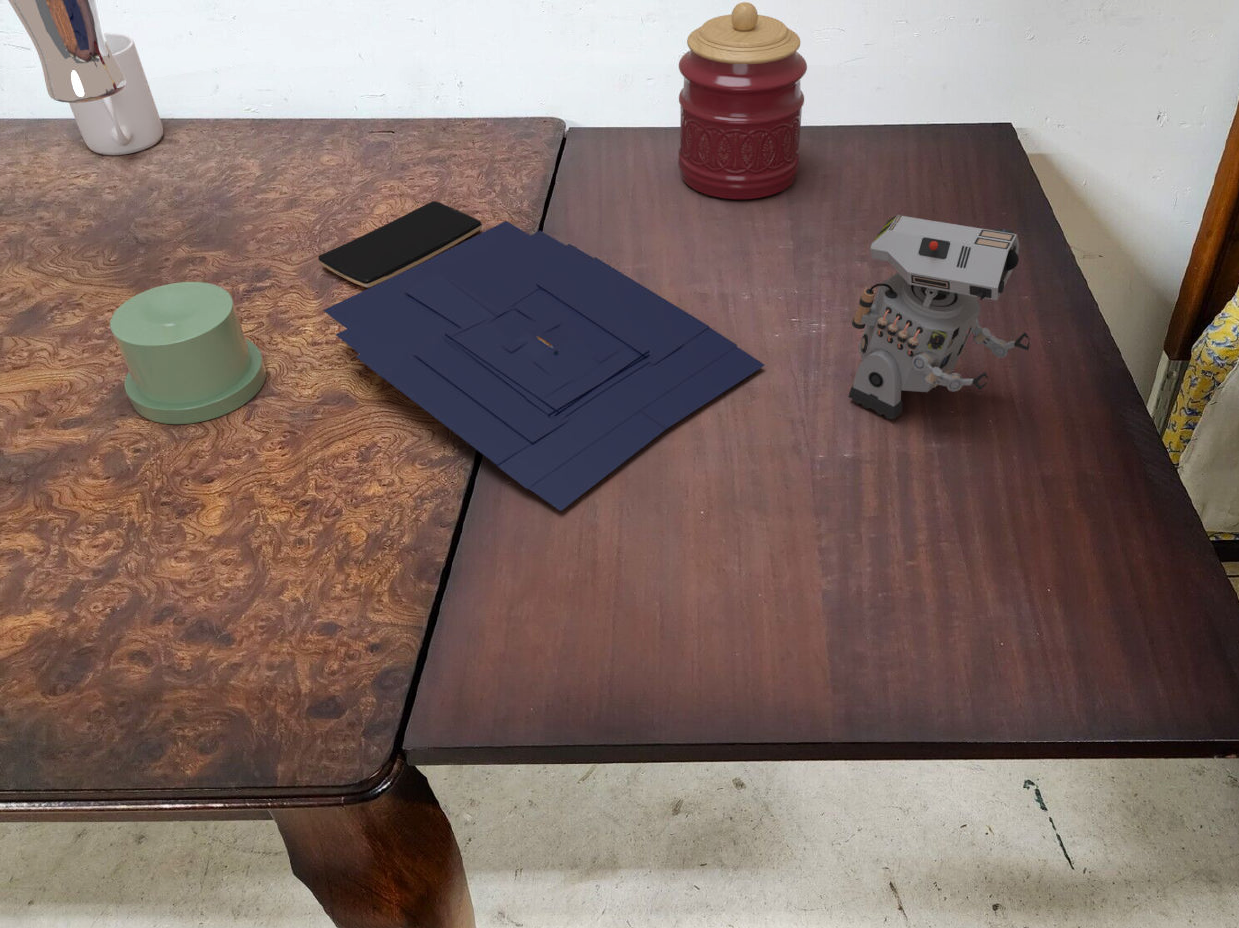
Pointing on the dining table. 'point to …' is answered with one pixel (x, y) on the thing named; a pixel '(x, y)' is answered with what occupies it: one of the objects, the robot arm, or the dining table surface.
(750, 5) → the kitchen canister
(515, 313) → the papers
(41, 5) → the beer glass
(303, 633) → the dining table surface
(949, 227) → the figurine
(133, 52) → the mug
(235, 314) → the flowerpot
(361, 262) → the smartphone
